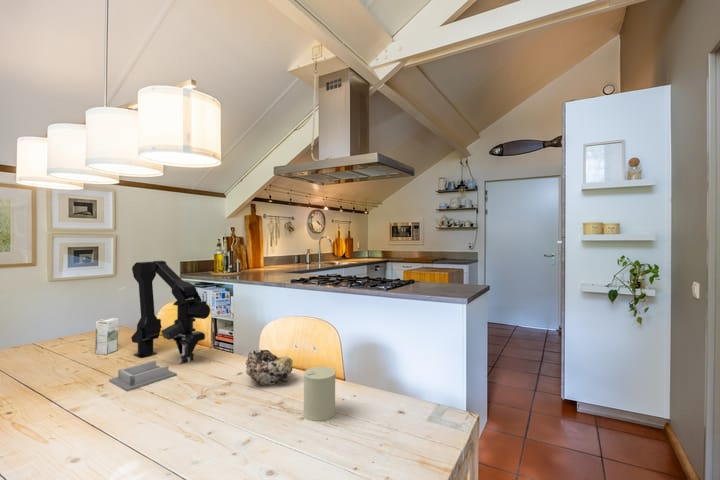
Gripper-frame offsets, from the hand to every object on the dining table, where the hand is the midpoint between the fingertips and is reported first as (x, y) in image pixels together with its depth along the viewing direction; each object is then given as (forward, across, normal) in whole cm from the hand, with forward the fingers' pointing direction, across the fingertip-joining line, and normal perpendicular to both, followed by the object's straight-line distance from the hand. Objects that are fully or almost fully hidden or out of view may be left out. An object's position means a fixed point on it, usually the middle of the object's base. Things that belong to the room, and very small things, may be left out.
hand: (185, 355), depth 136 cm
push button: (+3, 0, 0) cm, 3 cm away
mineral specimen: (+3, +42, +6) cm, 43 cm away
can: (+3, +71, 0) cm, 71 cm away
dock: (+3, +4, -17) cm, 18 cm away
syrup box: (+3, -39, -13) cm, 41 cm away
